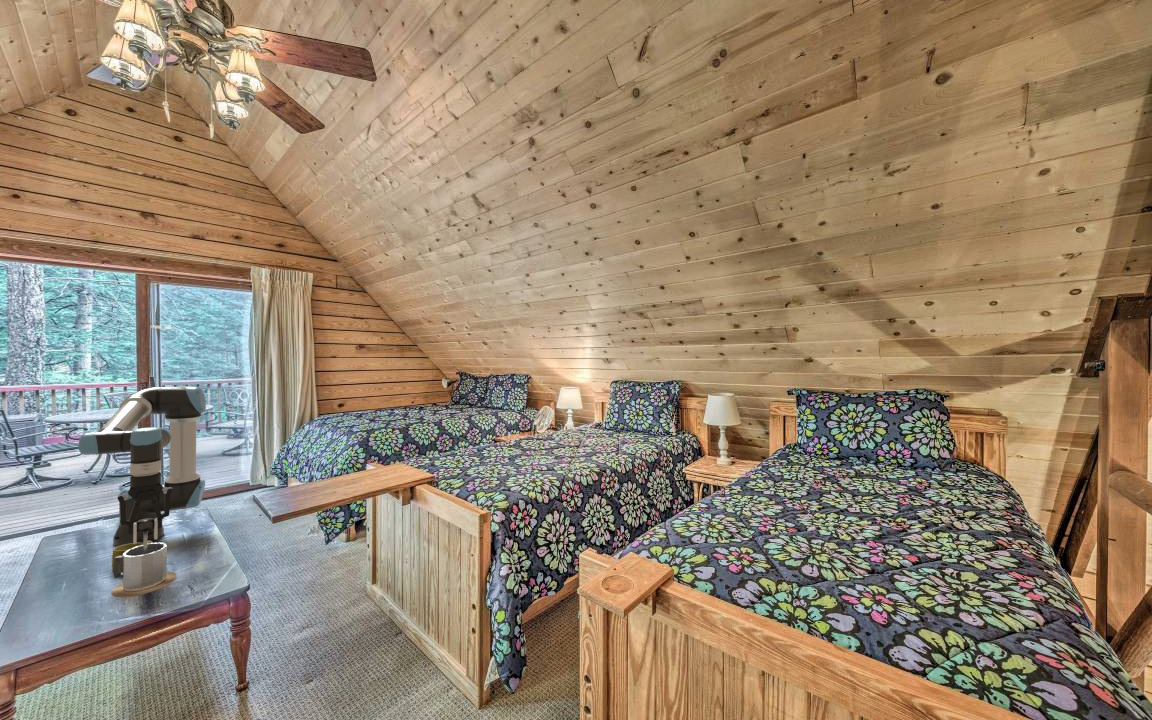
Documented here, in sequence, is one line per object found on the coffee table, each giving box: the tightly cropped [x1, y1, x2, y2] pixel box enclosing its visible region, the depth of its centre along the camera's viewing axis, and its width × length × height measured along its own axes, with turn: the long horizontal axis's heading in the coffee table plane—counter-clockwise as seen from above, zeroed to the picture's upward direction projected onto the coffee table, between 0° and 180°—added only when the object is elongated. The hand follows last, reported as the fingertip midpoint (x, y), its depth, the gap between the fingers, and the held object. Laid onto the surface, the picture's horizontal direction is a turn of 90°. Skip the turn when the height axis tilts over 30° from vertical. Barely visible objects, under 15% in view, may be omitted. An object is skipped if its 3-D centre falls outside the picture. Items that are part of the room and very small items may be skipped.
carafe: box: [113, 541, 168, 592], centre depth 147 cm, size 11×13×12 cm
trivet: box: [110, 571, 178, 598], centre depth 147 cm, size 16×16×1 cm
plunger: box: [136, 518, 155, 555], centre depth 147 cm, size 7×7×20 cm
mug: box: [111, 540, 154, 573], centre depth 159 cm, size 12×10×10 cm
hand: (145, 540), depth 147 cm, fingers closed on plunger, 4 cm apart
